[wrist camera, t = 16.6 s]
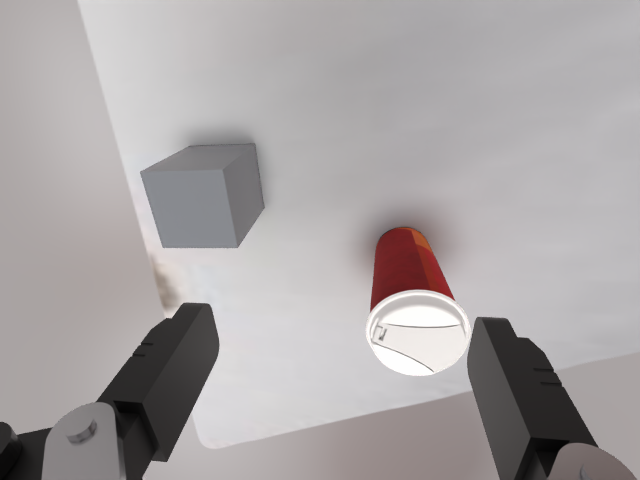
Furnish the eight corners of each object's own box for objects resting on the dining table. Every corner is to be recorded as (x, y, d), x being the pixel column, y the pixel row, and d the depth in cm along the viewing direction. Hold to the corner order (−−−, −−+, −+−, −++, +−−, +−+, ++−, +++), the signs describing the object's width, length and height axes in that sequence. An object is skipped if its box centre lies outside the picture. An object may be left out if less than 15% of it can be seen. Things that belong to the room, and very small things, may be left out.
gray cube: (189, 146, 36) (139, 172, 28) (254, 143, 35) (222, 169, 27) (203, 209, 39) (162, 247, 31) (264, 208, 38) (237, 248, 30)
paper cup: (358, 271, 40) (354, 367, 28) (377, 210, 36) (381, 289, 24) (426, 287, 40) (452, 390, 28) (451, 227, 36) (494, 316, 24)
